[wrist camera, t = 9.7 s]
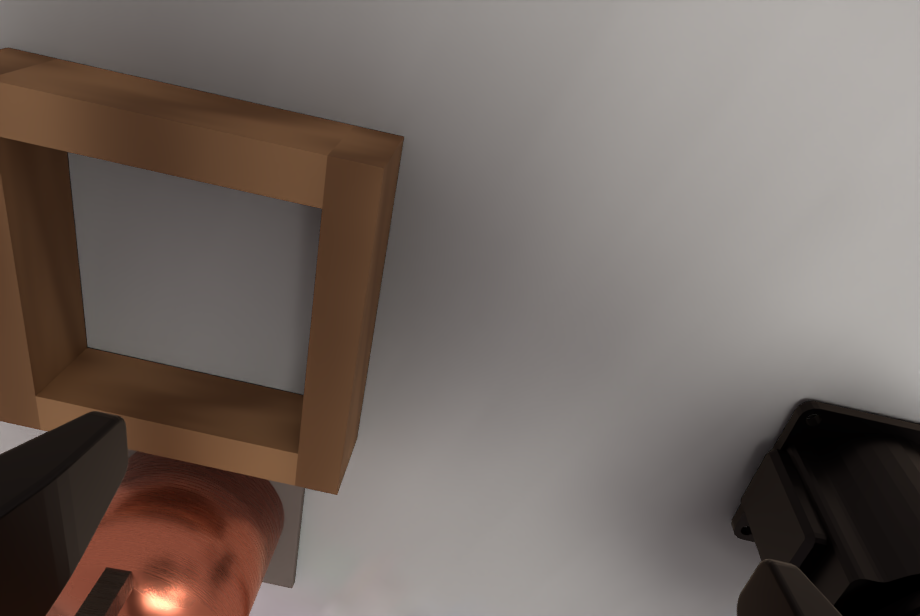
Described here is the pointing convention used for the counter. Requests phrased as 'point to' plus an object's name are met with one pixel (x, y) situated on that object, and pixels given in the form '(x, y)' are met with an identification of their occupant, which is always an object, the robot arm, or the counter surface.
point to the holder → (206, 160)
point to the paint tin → (177, 544)
